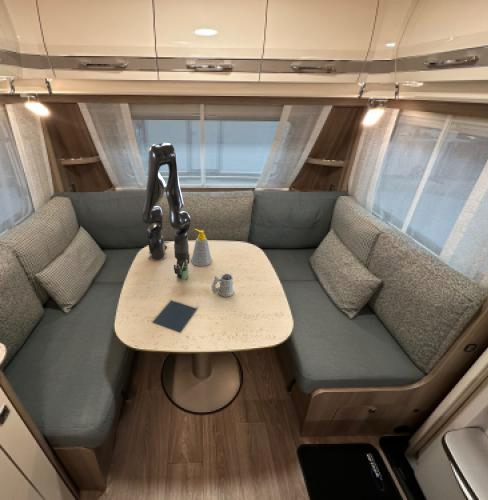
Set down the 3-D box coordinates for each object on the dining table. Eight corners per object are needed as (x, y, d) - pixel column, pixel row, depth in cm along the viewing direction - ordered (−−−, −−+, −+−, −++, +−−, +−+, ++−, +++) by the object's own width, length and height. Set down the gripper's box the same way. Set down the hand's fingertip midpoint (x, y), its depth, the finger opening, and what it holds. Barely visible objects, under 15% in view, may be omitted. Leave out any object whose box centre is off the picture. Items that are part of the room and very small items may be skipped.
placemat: (171, 300, 132) (171, 300, 132) (196, 308, 127) (196, 308, 127) (152, 322, 120) (152, 321, 120) (180, 332, 115) (180, 331, 115)
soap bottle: (199, 253, 172) (199, 224, 162) (215, 259, 166) (216, 230, 156) (187, 261, 163) (186, 232, 153) (203, 268, 157) (203, 238, 147)
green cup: (180, 272, 152) (179, 264, 149) (190, 275, 150) (189, 267, 147) (174, 278, 147) (174, 270, 145) (184, 281, 145) (184, 272, 142)
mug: (235, 295, 136) (237, 276, 130) (214, 300, 133) (214, 281, 127) (229, 286, 143) (230, 268, 137) (208, 291, 139) (209, 272, 133)
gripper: (181, 241, 147) (182, 266, 155) (168, 254, 135) (170, 280, 144) (193, 244, 144) (194, 270, 153) (181, 257, 133) (182, 284, 141)
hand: (182, 274), depth 148 cm, fingers closed on green cup, 6 cm apart
